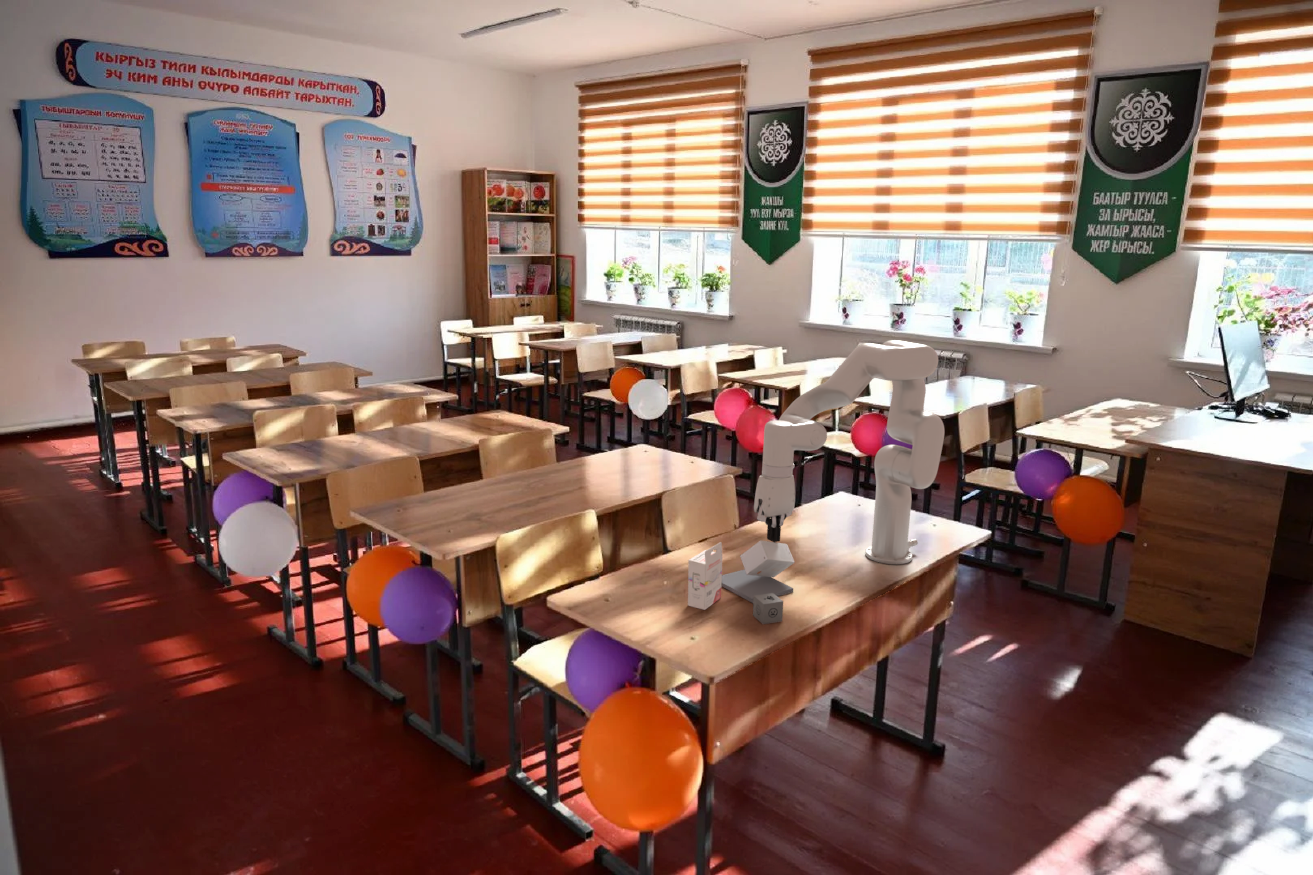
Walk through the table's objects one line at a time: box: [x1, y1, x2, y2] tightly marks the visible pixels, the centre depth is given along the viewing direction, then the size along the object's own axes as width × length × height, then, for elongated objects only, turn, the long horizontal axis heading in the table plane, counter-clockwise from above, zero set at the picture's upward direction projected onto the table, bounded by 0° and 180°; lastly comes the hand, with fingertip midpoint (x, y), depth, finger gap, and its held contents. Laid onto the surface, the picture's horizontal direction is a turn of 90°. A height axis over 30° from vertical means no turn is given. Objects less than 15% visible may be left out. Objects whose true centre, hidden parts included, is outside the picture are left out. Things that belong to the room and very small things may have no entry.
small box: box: [739, 540, 795, 578], centre depth 218 cm, size 8×6×10 cm
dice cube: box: [752, 593, 784, 625], centre depth 200 cm, size 5×5×5 cm
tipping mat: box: [721, 568, 794, 604], centre depth 218 cm, size 13×16×1 cm
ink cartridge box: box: [687, 541, 723, 611], centre depth 207 cm, size 9×5×15 cm, turn 148°
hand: (773, 540), depth 219 cm, fingers closed
